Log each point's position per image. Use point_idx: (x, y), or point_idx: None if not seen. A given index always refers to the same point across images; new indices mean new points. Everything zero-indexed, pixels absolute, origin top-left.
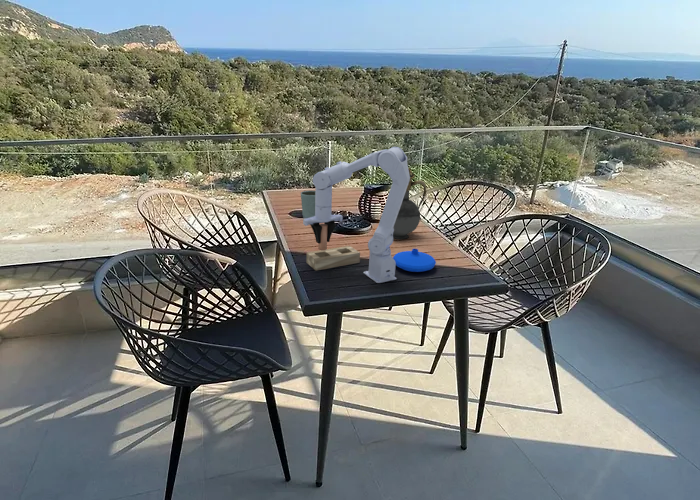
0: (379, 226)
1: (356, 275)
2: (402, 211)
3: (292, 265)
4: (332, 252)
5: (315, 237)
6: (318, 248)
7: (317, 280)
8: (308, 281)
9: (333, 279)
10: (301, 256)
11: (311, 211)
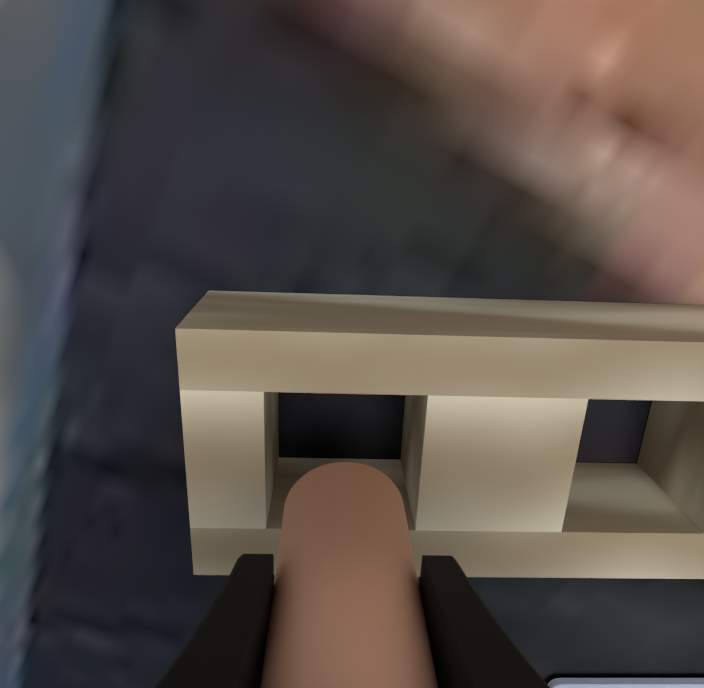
0: None
1: None
2: None
3: (33, 292)
4: (488, 460)
5: (209, 616)
6: (286, 500)
7: (155, 646)
8: (79, 636)
9: None
10: (226, 76)
11: None
